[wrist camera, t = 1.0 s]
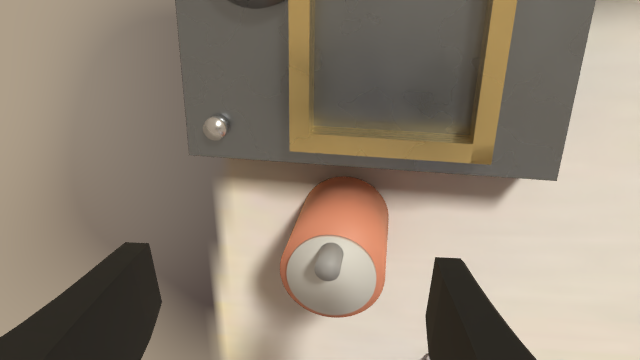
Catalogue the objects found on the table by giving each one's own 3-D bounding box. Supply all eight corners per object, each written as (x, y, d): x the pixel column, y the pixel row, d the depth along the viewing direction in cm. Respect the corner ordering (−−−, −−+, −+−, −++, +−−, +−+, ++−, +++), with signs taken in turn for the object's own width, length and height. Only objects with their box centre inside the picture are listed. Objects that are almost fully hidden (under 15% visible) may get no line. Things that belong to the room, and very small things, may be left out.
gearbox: (538, 156, 24) (565, 192, 20) (212, 135, 26) (178, 164, 22) (597, -143, 19) (646, -171, 15) (192, -139, 21) (145, -163, 17)
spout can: (385, 257, 27) (380, 348, 20) (303, 249, 28) (272, 335, 21) (391, 179, 25) (387, 252, 19) (303, 173, 26) (269, 241, 19)
